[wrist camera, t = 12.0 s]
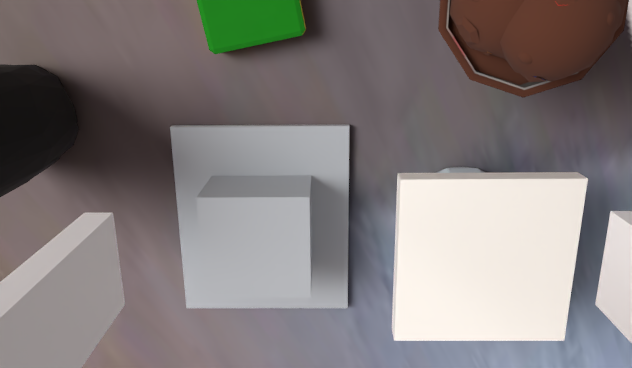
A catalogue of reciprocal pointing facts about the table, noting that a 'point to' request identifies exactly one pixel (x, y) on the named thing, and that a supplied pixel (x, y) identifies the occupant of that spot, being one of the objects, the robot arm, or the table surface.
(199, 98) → the table surface
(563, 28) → the ice cream bowl
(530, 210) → the white flat square block
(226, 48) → the dish sponge
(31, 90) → the portable speaker
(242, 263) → the stand
